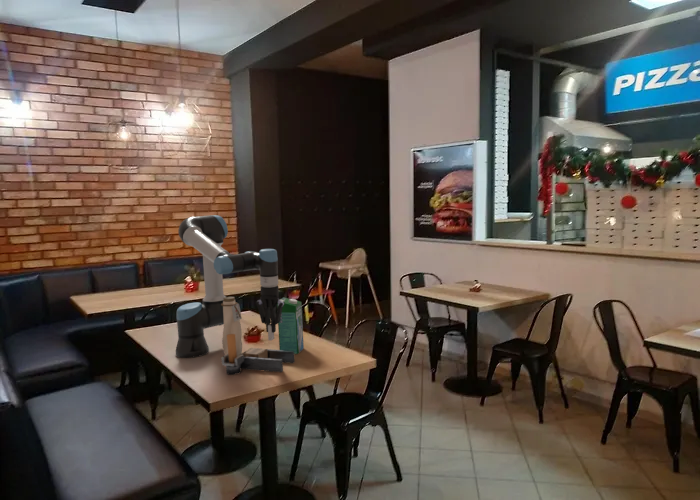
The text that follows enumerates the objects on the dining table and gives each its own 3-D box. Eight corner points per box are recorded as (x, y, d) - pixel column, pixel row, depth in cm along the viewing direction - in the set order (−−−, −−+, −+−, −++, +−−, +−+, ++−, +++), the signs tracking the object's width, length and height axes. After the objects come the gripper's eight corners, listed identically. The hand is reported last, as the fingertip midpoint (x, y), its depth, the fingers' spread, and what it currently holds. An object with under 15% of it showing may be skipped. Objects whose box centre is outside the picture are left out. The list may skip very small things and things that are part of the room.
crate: (242, 366, 225) (241, 353, 225) (252, 360, 233) (251, 347, 232) (259, 368, 223) (258, 354, 222) (268, 362, 230) (267, 348, 230)
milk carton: (298, 354, 240) (295, 301, 237) (279, 353, 242) (276, 301, 239) (303, 348, 249) (301, 297, 246) (285, 347, 250) (283, 296, 248)
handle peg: (234, 364, 216) (232, 336, 215) (227, 363, 217) (225, 335, 216) (238, 361, 219) (236, 333, 218) (232, 361, 221) (229, 333, 220)
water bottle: (249, 355, 241) (245, 296, 237) (238, 361, 232) (235, 300, 229) (229, 354, 244) (226, 295, 241) (219, 360, 236) (215, 299, 232)
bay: (236, 368, 223) (236, 357, 223) (252, 358, 236) (251, 348, 235) (281, 372, 217) (280, 360, 216) (294, 362, 229) (294, 351, 228)
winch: (221, 374, 217) (220, 358, 216) (230, 368, 224) (229, 352, 223) (236, 375, 214) (235, 359, 213) (246, 369, 221) (245, 353, 220)
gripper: (251, 286, 218) (253, 340, 222) (279, 288, 214) (281, 343, 218) (259, 283, 226) (261, 335, 229) (287, 284, 221) (288, 338, 225)
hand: (271, 339), depth 223 cm, fingers closed
